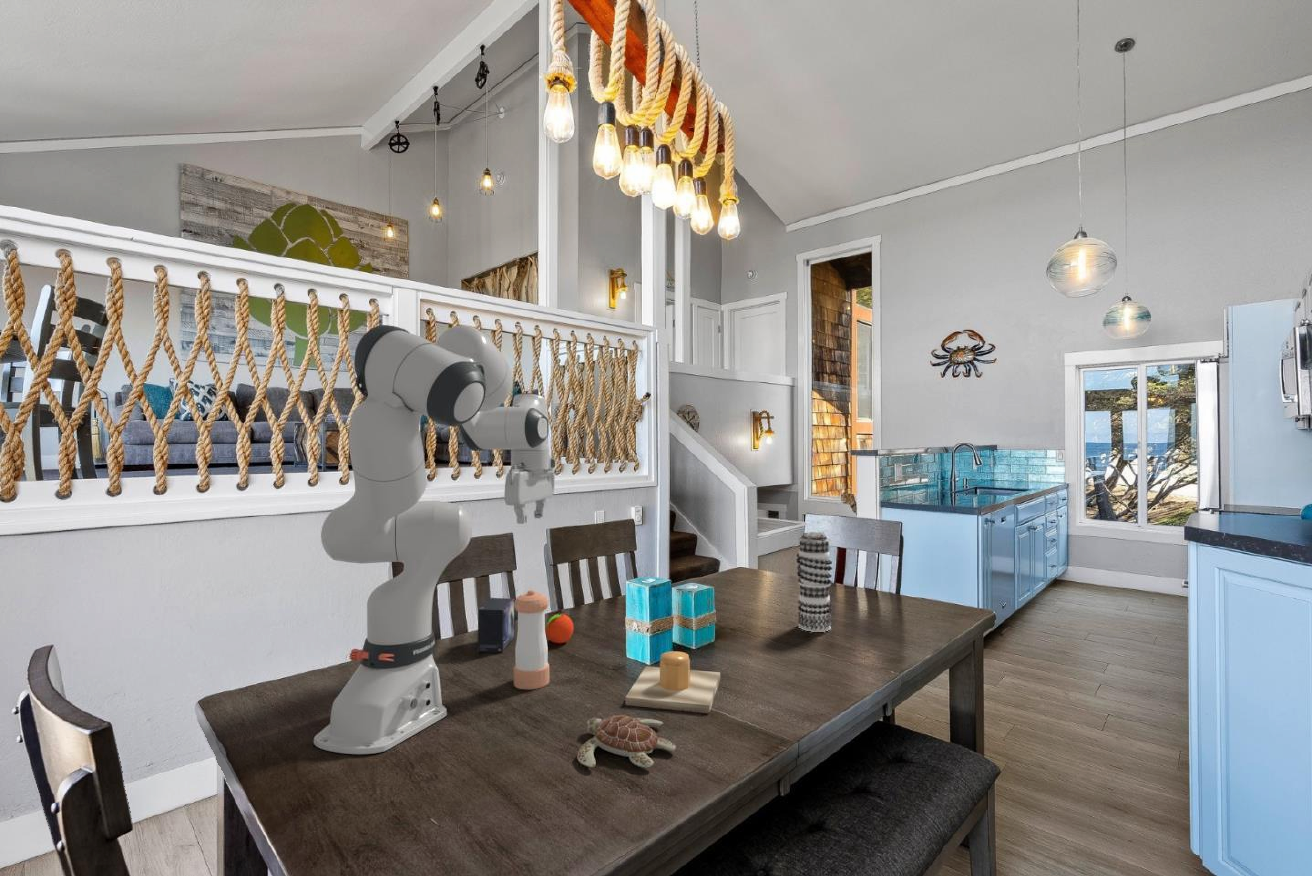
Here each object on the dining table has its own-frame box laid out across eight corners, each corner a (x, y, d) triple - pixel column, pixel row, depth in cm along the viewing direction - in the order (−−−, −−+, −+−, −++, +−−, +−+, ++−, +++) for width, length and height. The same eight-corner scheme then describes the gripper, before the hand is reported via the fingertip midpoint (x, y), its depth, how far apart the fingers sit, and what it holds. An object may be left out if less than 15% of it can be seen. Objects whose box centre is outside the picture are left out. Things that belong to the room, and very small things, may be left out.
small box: (504, 653, 144) (503, 609, 144) (476, 653, 144) (476, 609, 144) (515, 638, 154) (515, 597, 154) (489, 638, 155) (489, 597, 155)
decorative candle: (789, 625, 164) (789, 532, 164) (816, 620, 168) (816, 530, 168) (811, 635, 156) (811, 537, 156) (839, 630, 160) (839, 534, 160)
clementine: (555, 650, 146) (555, 620, 146) (536, 644, 150) (536, 615, 150) (579, 641, 152) (579, 613, 152) (560, 636, 156) (560, 608, 156)
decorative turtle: (622, 715, 112) (622, 688, 112) (696, 742, 102) (696, 713, 102) (547, 756, 98) (547, 724, 98) (625, 792, 88) (625, 758, 88)
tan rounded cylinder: (686, 691, 118) (686, 662, 118) (658, 688, 120) (657, 660, 120) (691, 680, 124) (691, 652, 124) (664, 677, 125) (664, 650, 125)
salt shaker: (541, 691, 122) (541, 595, 122) (507, 688, 124) (507, 593, 124) (554, 677, 129) (554, 586, 129) (522, 674, 131) (522, 585, 131)
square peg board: (709, 713, 112) (709, 683, 112) (625, 705, 116) (625, 676, 116) (720, 679, 128) (720, 653, 128) (646, 673, 131) (646, 647, 131)
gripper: (523, 464, 134) (523, 527, 134) (558, 460, 154) (559, 515, 154) (497, 464, 136) (497, 526, 136) (535, 460, 155) (535, 515, 155)
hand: (530, 520), depth 145 cm, fingers open, 8 cm apart
